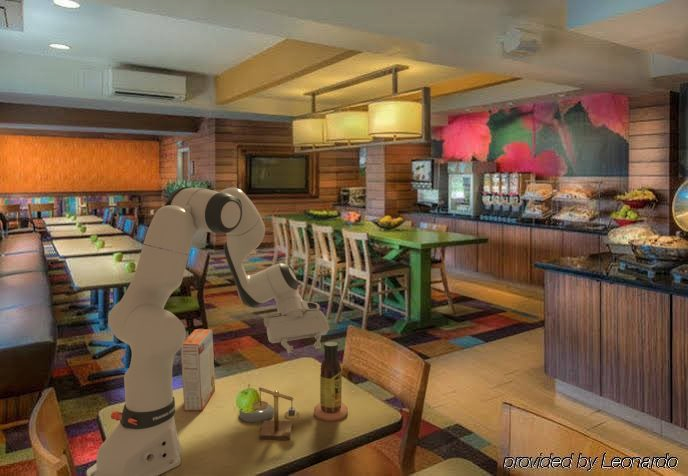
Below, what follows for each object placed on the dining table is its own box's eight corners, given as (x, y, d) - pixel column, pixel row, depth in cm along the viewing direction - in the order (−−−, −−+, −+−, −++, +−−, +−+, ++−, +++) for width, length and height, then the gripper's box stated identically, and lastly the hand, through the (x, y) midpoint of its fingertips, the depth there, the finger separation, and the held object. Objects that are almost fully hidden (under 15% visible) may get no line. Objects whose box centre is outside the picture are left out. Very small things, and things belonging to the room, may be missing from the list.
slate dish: (259, 426, 147) (259, 422, 147) (232, 417, 152) (232, 413, 152) (281, 411, 156) (281, 407, 156) (254, 403, 161) (254, 400, 160)
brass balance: (251, 439, 140) (250, 394, 138) (256, 424, 148) (255, 381, 146) (298, 439, 140) (297, 394, 138) (300, 424, 148) (300, 381, 146)
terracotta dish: (336, 424, 148) (336, 420, 148) (307, 415, 153) (307, 411, 153) (353, 410, 157) (353, 406, 157) (325, 402, 162) (325, 398, 162)
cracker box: (197, 390, 170) (194, 328, 167) (215, 391, 169) (213, 328, 166) (182, 411, 156) (179, 343, 153) (202, 411, 156) (200, 343, 153)
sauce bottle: (338, 415, 151) (338, 348, 148) (317, 412, 153) (317, 347, 150) (343, 404, 158) (343, 341, 155) (323, 402, 159) (323, 339, 156)
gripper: (264, 310, 163) (276, 350, 156) (323, 303, 173) (337, 340, 166) (259, 320, 168) (271, 360, 161) (316, 312, 178) (330, 349, 171)
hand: (305, 350), depth 163 cm, fingers open, 8 cm apart
